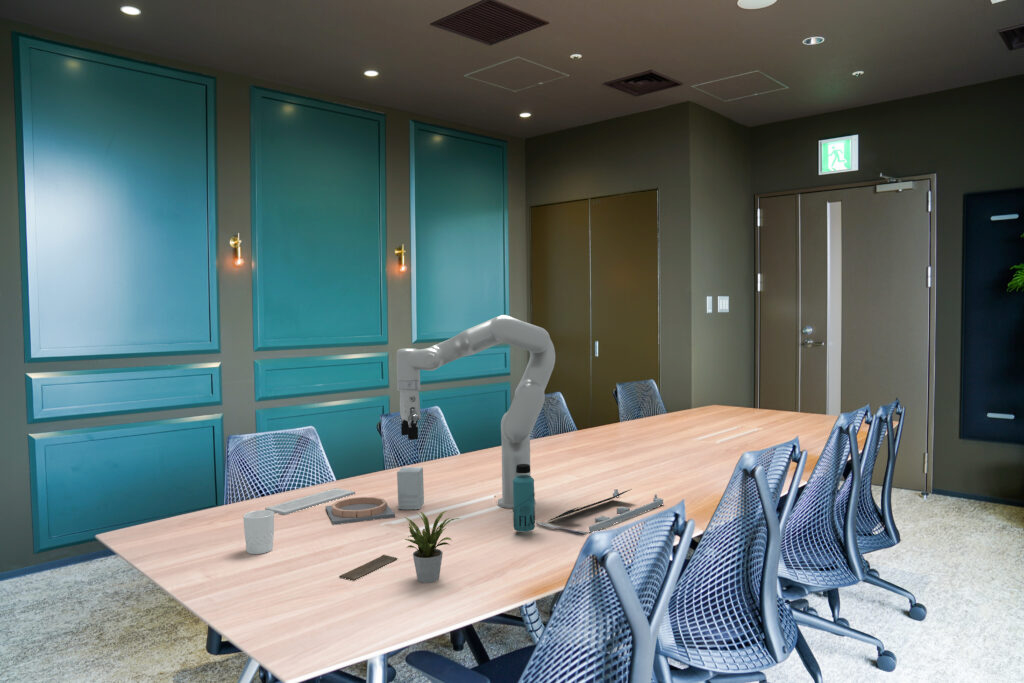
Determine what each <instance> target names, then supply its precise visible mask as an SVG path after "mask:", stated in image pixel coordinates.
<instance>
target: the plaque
mask: <svg viewBox="0 0 1024 683" xmlns="http://www.w3.org/2000/svg"><path fill="white" fill-rule="evenodd" d="M353 494H354V495H356V491H355V490H349V489H344V488H338V487H336V488H332V489H328V490H324V491H321V492H316V493H313V494H309V495H306V496H302V497H298V498H295V499H291V500H288V501H286V502H285V501H284V502H282V503H278V504H275V505H271V506H268V507H267V506H266V507H265V508H264V510H270V511H273V512H274V514H277V513H278V515H283V516H286V515H287V516H288V515H291V514H293V512H294V513H297V512H300V511H299V510H301V511H304V510H307V509H310V508H309V507H311V508H313V507H312V506H314V507H317V506H320V505H319V504H321V505H323V504H322V503H324V504H327V503H330V502H329V501H331V502H334V501H337V500H341V499H344V498H347V497H350V495H351V496H354V495H353ZM346 496H347V497H346ZM343 497H344V498H343ZM340 498H341V499H340ZM336 499H337V500H336ZM333 500H334V501H333ZM326 502H327V503H326ZM316 505H317V506H316ZM306 508H307V509H306ZM303 509H304V510H303ZM296 511H297V512H296ZM290 513H291V514H290Z"/></svg>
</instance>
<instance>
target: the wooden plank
mask: <svg viewBox="0 0 1024 683" xmlns="http://www.w3.org/2000/svg"><path fill="white" fill-rule="evenodd" d="M397 559H399V558H398V557H395V556H391V555H387V554H382V555H380V556H379V557H377V558H374V559H373V560H370V561H368V562H366V563H364V564H361V565H360V566H358V567H356V568H353V569H351V570H349V571H347V572H344V573H342V574H340V575H339V576H338V577H339V578H340V577H343V578H346V579H345V580H347V579H350V580H349V581H351V580H356V579H358V578H360V577H362V576H364V575H366V576H368V575H370V574H371V572H372V573H373V571H374V572H376V571H377V569H378V570H379V568H380V569H382V568H384V567H385V565H386V566H388V565H389V563H390V564H392V563H394V562H396V561H397ZM387 564H388V565H387ZM383 566H384V567H383ZM381 567H382V568H381ZM375 570H376V571H375ZM369 573H370V574H369ZM367 574H368V575H367ZM364 577H365V576H364ZM343 578H342V579H343ZM362 578H363V577H362ZM360 579H361V578H360ZM358 580H359V579H358ZM356 581H357V580H356Z"/></svg>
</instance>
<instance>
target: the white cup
mask: <svg viewBox="0 0 1024 683" xmlns="http://www.w3.org/2000/svg"><path fill="white" fill-rule="evenodd" d="M242 517H243V529H244V531H243V532H244V540H245V549H246V550H245V551H246V553H247V554H249V555H262V554H265V553H266V552H267V553H269V552H271V551H273V549H274V537H275V536H274V534H275V513H274V512H273V511H270V510H265V509H263V510H262V509H261V510H260V509H259V510H254V511H253V510H252V511H250V512H247V513H245V514H244V513H243V516H242Z"/></svg>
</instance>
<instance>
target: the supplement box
mask: <svg viewBox="0 0 1024 683" xmlns="http://www.w3.org/2000/svg"><path fill="white" fill-rule="evenodd" d="M396 476H397V478H396V479H397V480H396V482H397V504H398V505H397V507H398V510H399V509H401V510H413V509H414V510H417V509H419V510H421V508H422V507H423V506H424V505H425V495H424V494H425V492H424V467H419V466H418V467H417V466H414V467H413V466H412V467H411V466H408V467H407V466H405V467H404V466H403V467H401V468H400V469H399V470H398V471H396ZM423 504H424V505H423ZM422 505H423V506H422Z"/></svg>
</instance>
